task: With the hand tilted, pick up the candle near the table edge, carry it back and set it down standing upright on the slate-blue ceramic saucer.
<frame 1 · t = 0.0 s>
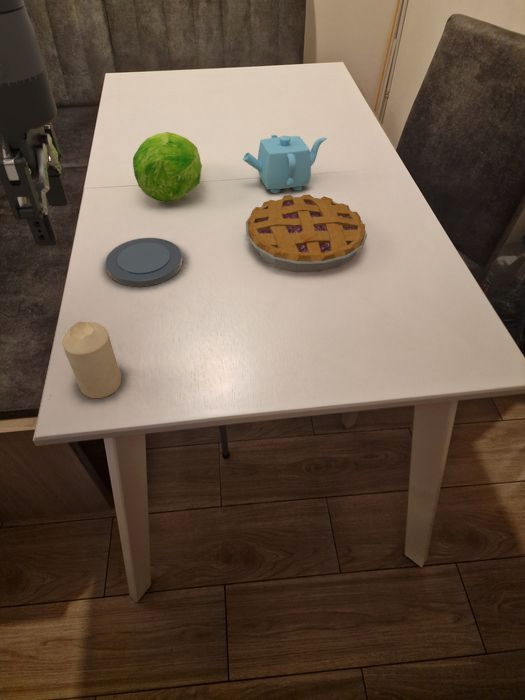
hand: (53, 223, 56), 20 cm above the table, tool pointing down, fingers open, 8 cm apart
teapot: (282, 183, 106), on the table
saucer: (145, 263, 85), on the table
candle: (101, 383, 66), on the table
pie: (304, 243, 90), on the table
lettuce: (172, 189, 104), on the table
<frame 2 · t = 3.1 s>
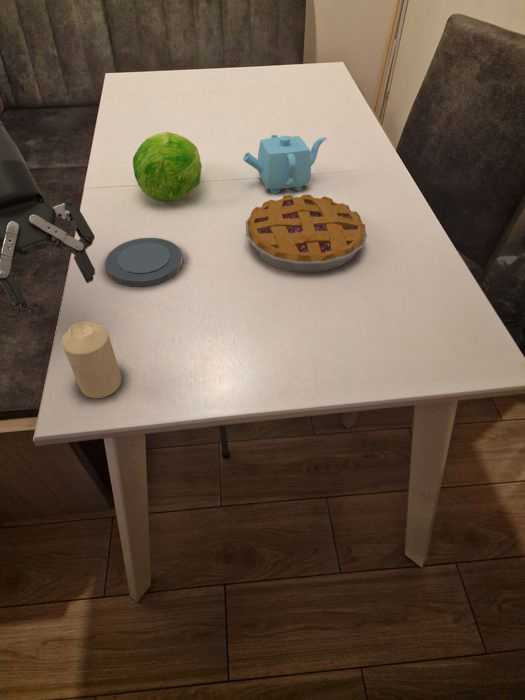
hand: (58, 293, 61), 11 cm above the table, tool tilted 45°, fingers open, 8 cm apart
nothing on the table moved.
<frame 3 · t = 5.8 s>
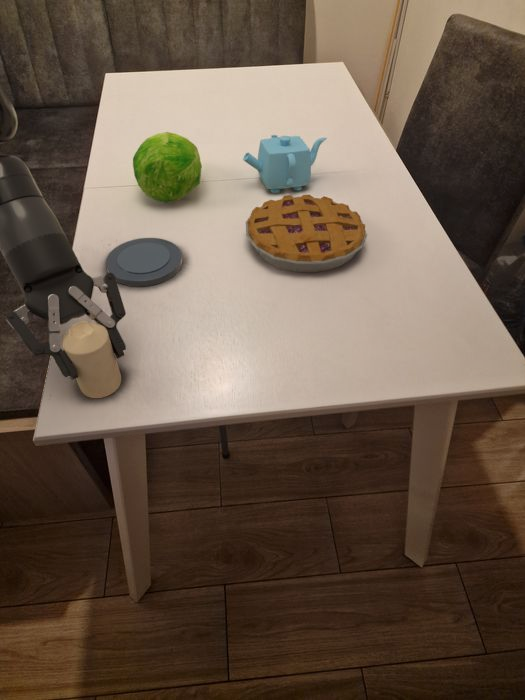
hand: (98, 366, 61), 5 cm above the table, tool tilted 45°, fingers closed on candle, 5 cm apart
candle: (101, 383, 66), on the table, touching gripper
everything else where it was.
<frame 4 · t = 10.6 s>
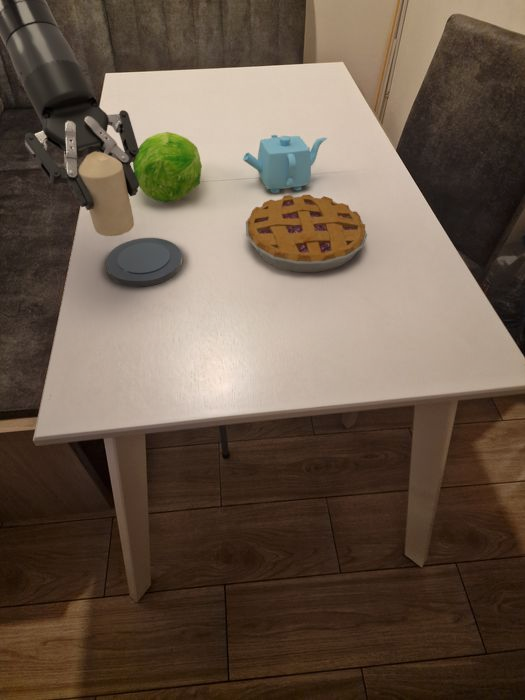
hand: (113, 200, 64), 18 cm above the table, tool tilted 45°, fingers closed on candle, 5 cm apart
candle: (114, 227, 68), point 13 cm above the table, touching gripper
everything else where it was.
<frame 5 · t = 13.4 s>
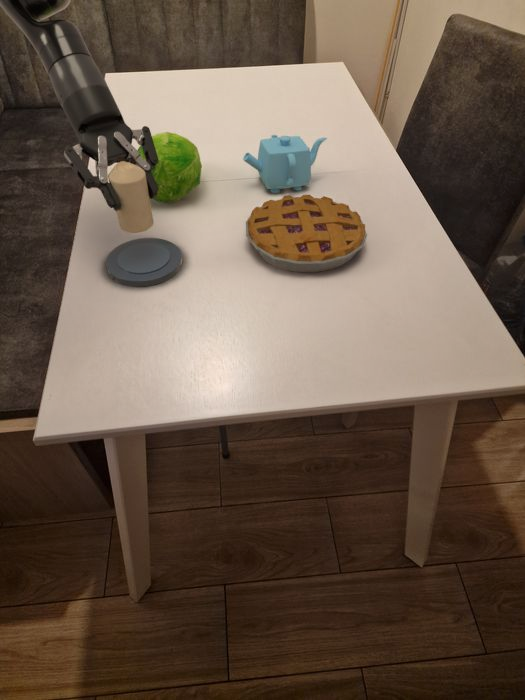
hand: (136, 202, 75), 12 cm above the table, tool tilted 45°, fingers closed on candle, 5 cm apart
candle: (136, 225, 79), point 8 cm above the table, touching gripper
everything else where it was.
when the fingers open (6 cm above the table, at t = 15.6 s): candle stays where it is, resting on saucer.
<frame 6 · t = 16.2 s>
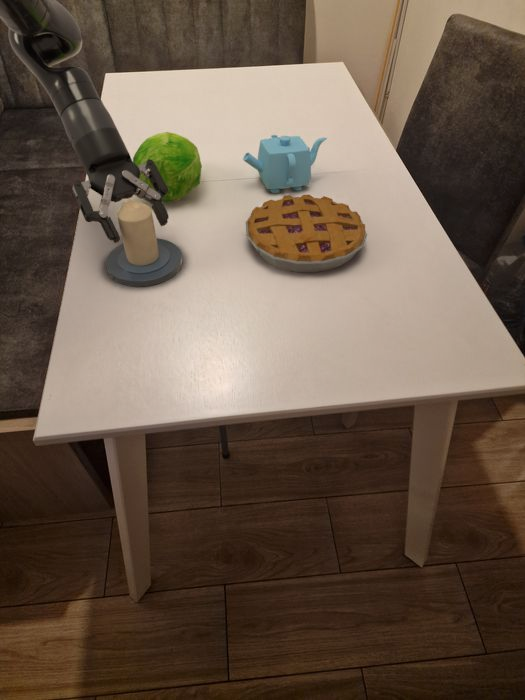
hand: (141, 232, 79), 7 cm above the table, tool tilted 45°, fingers open, 8 cm apart
candle: (143, 257, 84), point 1 cm above the table, touching saucer
everything else where it was.
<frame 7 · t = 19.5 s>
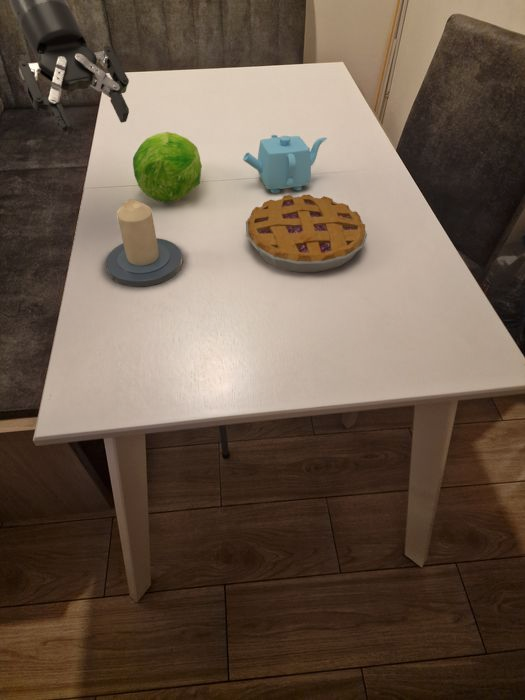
hand: (98, 126, 71), 22 cm above the table, tool tilted 45°, fingers open, 8 cm apart
nothing on the table moved.
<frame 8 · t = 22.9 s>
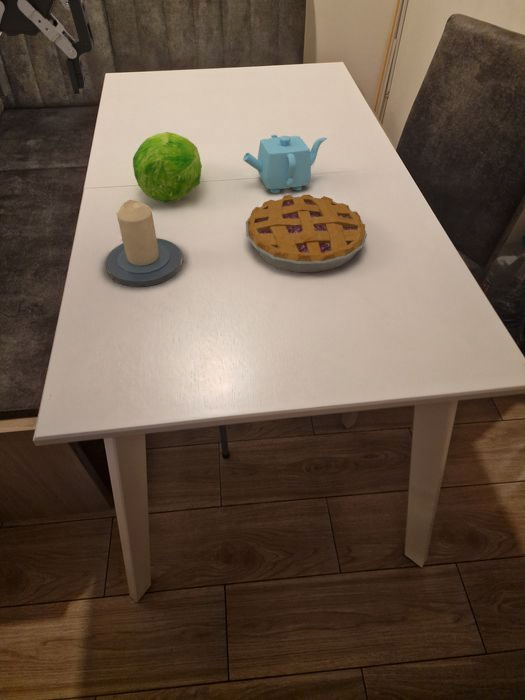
hand: (41, 93, 58), 30 cm above the table, tool pointing down, fingers open, 8 cm apart
nothing on the table moved.
at the end: candle 0.1 cm off-centre on the saucer, point 1.2 cm above the saucer's base; candle tilted 0°; the gripper is holding nothing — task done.
